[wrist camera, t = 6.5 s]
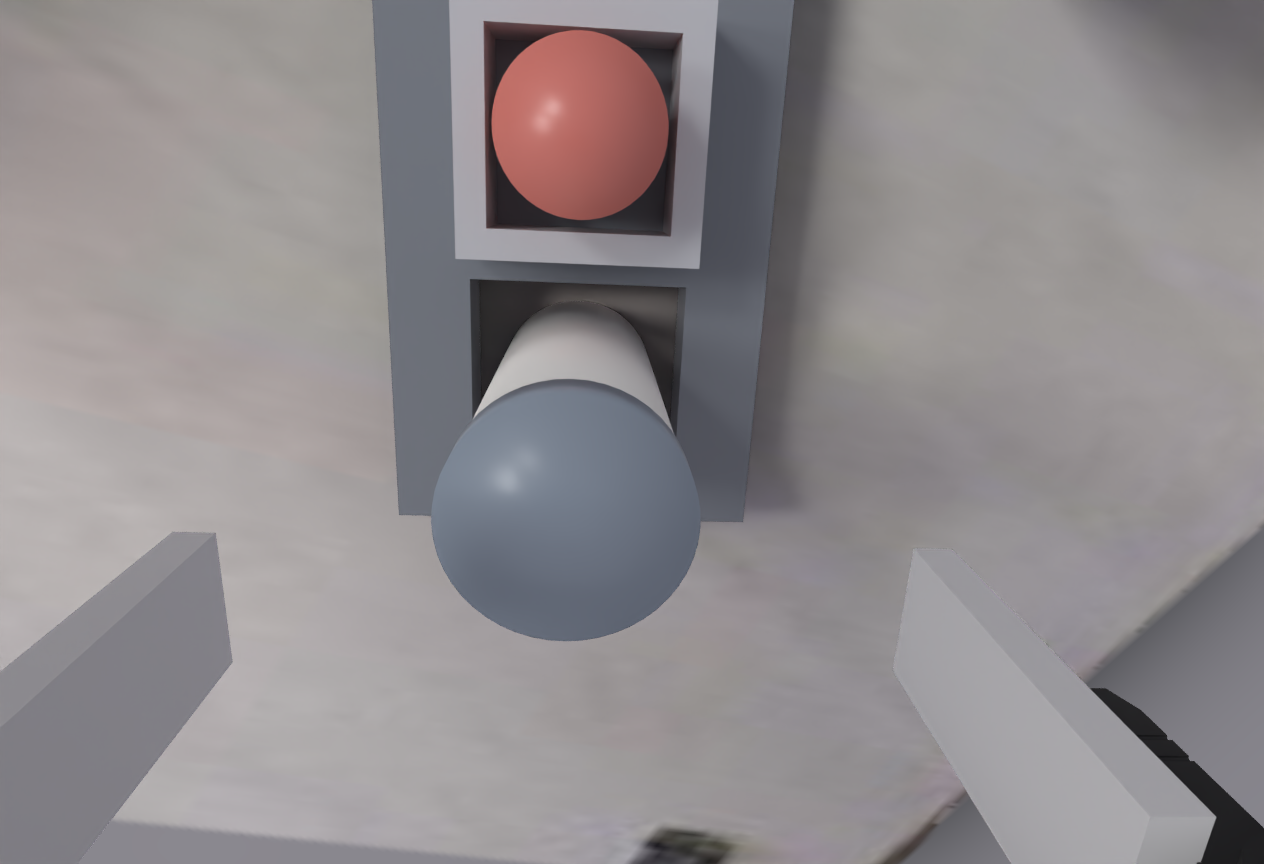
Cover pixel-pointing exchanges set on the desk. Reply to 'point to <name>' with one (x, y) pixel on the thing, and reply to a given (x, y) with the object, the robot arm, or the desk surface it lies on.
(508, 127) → the plunger
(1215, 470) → the desk surface
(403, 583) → the desk surface
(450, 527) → the cartridge
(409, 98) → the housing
